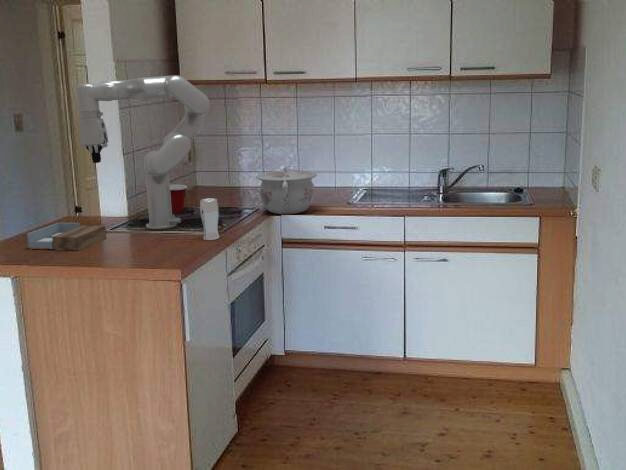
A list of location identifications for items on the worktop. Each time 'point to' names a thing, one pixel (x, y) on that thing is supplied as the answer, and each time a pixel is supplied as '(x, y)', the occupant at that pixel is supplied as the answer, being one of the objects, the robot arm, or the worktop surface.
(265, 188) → the chamber pot
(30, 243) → the box
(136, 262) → the worktop surface
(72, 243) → the tan slab
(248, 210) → the worktop surface
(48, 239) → the tile
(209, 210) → the beer glass
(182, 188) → the plastic cup
